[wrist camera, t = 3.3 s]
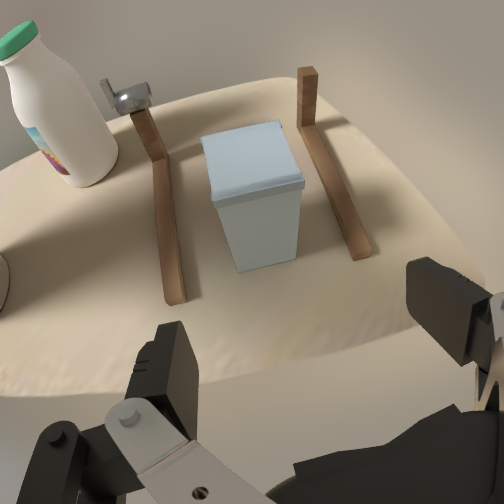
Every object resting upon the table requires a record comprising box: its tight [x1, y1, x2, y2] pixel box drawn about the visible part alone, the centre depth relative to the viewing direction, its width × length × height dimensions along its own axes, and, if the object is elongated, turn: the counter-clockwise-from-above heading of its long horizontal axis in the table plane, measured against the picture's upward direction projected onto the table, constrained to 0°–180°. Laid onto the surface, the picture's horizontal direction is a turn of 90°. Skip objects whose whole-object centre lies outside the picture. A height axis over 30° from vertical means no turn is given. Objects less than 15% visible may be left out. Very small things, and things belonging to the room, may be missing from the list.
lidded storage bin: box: [200, 120, 305, 273], centre depth 24 cm, size 5×5×11 cm
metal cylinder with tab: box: [100, 78, 153, 116], centre depth 24 cm, size 4×2×4 cm, turn 103°
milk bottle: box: [0, 20, 118, 187], centre depth 26 cm, size 8×8×20 cm
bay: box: [130, 66, 372, 306], centre depth 27 cm, size 18×17×8 cm
